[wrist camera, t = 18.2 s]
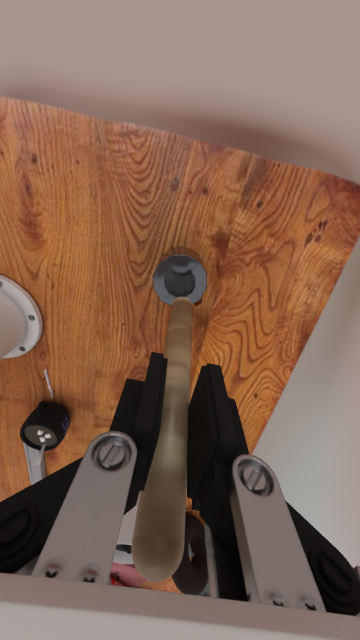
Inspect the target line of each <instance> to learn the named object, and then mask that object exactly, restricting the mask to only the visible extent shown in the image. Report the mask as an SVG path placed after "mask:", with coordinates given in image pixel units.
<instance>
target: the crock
mask: <svg viewBox="0 0 360 640" xmlns="http://www.w3.org/2000/svg"><path fill="white" fill-rule="evenodd" d="M153 285H154V291H155V292H156V294H157V295H158V297H159V298H160V299H161V301H162V302H164V303H166V304H168V305H172V303H173V301H174V300H175V299H177V298H179V297H186V298H188V299H189V300H190V301H191V302H192V304H194V303H195V302H197V301H199V300H200V298H201V297H202V295H203V293H204V292H205V290H206V288H207V274H206V271H205V268H204V265H203V263H202V261H201V259H200V257H199V256H198V254H197V253H196V252H194V251H193V250H191V249H189V248H187V247H174V248H172V249H170V250H168V251H167V252H166V253H164V254H163V255H162V257H161V259H160V261H159V263H158V266H157V268H156V270H155V272H154V274H153Z"/></svg>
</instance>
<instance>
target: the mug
mask: <svg viewBox="0 0 360 640" xmlns="http://www.w3.org/2000/svg"><path fill="white" fill-rule="evenodd" d="M44 374H45V375H46V380H47V383H48V386H47V387H49V386H50V381H49V377H48V376H47V375H48V373H47V370H46V369H45V370H44ZM49 389H50V390H49V391H50V393H51V394H50V395H52V396H50V398H52V397H53V393H52V389H51V387H49ZM69 425H70V415H69V412H68V410H67V409H66V408H65V407H64V406H62V405H60V404H57V403H47V402H46V401H42V402H40V403H39V405H38V407H37V408H36V409H35V410H34V411H33V412H32V413H31V414H30V415H29V417H28V418H27V419H26V421H25V422H24V424H23V425H22V427H21V430H20V436H21V439H22V441H23V442H24V443H25V444H26V445H27V446H29V447H31V448H33V449H36V450H40V453H39V456H38V458H37V461H36V463H35V466H40V462H41V459H42V456H43V452H44V451H48V450H52V449H54V448H55V447H57V446H58V445H59V444H60V443H61V441H62V440H63V438H64V436H65V435H66V433H67V430H68V428H69Z"/></svg>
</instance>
